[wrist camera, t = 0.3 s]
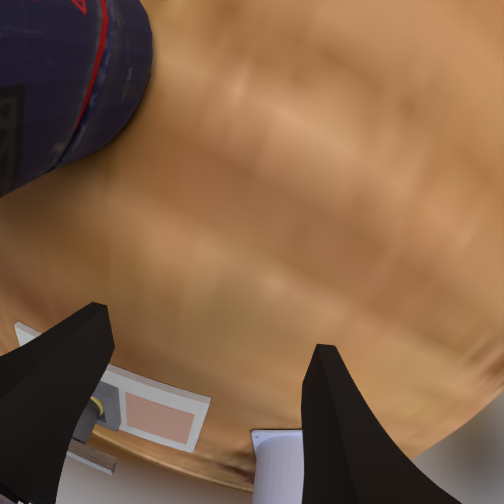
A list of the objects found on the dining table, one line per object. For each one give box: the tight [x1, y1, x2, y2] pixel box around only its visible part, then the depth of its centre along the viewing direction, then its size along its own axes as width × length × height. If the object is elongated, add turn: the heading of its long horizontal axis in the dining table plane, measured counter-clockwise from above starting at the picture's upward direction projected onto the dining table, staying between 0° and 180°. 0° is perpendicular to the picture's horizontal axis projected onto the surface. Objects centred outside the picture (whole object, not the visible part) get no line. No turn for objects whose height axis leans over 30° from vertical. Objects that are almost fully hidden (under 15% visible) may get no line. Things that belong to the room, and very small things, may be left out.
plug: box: [72, 396, 104, 445], centre depth 26 cm, size 4×4×6 cm
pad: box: [125, 392, 195, 444], centre depth 29 cm, size 7×7×1 cm
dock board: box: [14, 321, 211, 453], centre depth 28 cm, size 22×12×2 cm, turn 74°
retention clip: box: [66, 439, 117, 475], centre depth 25 cm, size 13×2×8 cm, turn 74°
